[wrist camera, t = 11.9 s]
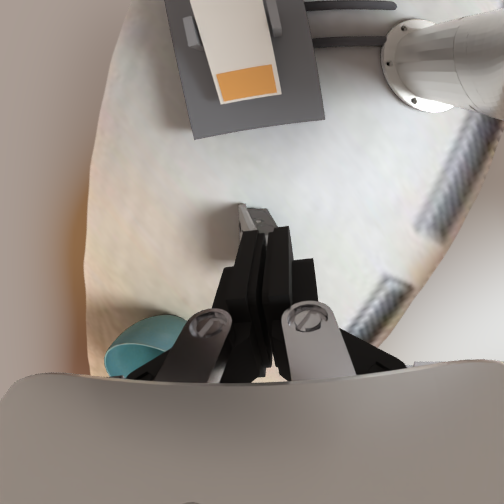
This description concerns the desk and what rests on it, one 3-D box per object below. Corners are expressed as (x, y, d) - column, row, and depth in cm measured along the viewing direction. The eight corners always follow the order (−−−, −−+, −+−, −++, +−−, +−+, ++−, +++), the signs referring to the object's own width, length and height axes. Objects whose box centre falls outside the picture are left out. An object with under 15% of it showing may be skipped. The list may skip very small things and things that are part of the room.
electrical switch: (238, 201, 42) (235, 233, 34) (277, 201, 42) (283, 233, 34) (240, 260, 47) (238, 301, 39) (275, 260, 47) (280, 300, 39)
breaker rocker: (247, -58, 16) (247, -60, 15) (281, 90, 28) (281, 94, 27) (179, -42, 17) (176, -43, 16) (222, 100, 29) (220, 104, 28)
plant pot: (113, 318, 56) (87, 364, 46) (169, 274, 49) (142, 327, 39) (179, 371, 63) (164, 418, 52) (242, 341, 55) (233, 397, 45)
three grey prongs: (387, -24, 24) (389, -26, 23) (402, 46, 29) (406, 45, 28) (291, -23, 26) (291, -26, 25) (307, 49, 31) (307, 48, 30)
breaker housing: (286, -44, 24) (286, -82, 15) (318, 114, 35) (332, 126, 25) (175, -21, 26) (139, -48, 17) (207, 131, 37) (180, 149, 28)
